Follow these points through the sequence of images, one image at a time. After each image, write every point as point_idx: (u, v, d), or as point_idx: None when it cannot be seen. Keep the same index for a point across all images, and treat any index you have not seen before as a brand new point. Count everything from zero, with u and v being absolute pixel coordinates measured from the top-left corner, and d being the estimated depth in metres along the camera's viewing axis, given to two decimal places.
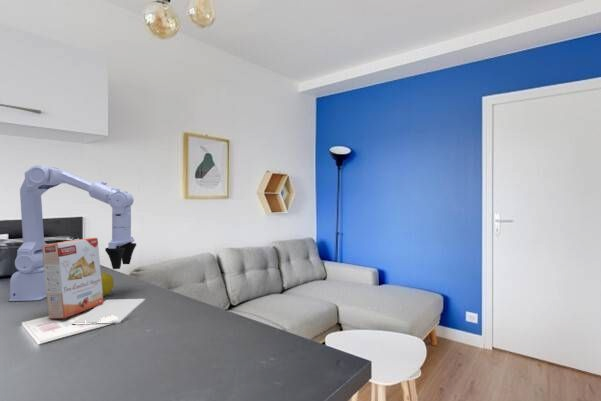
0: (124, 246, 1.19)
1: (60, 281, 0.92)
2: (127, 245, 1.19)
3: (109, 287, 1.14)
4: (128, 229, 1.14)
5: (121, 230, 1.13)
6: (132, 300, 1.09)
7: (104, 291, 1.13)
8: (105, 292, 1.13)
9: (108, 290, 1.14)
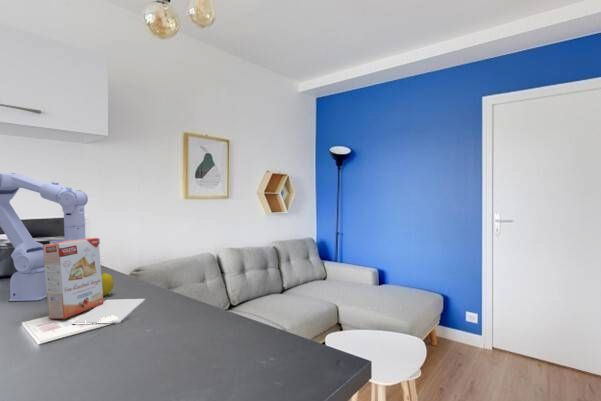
0: None
1: (61, 281, 0.92)
2: None
3: (109, 287, 1.14)
4: (67, 229, 1.09)
5: (64, 230, 1.10)
6: (132, 300, 1.09)
7: (104, 291, 1.13)
8: (105, 292, 1.13)
9: (108, 290, 1.14)
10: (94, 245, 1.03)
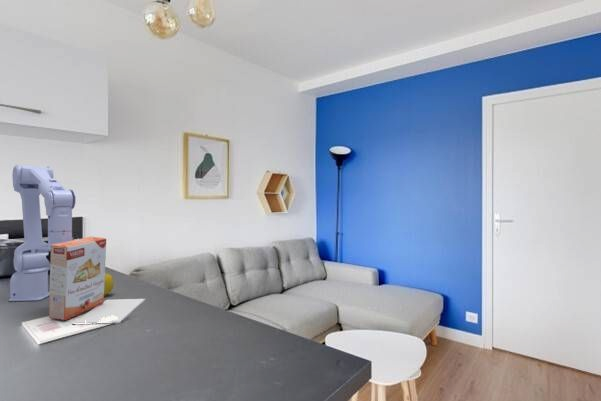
0: None
1: (65, 284, 0.91)
2: None
3: (109, 287, 1.14)
4: (50, 234, 0.95)
5: (48, 234, 0.97)
6: (132, 300, 1.09)
7: (104, 291, 1.13)
8: (105, 292, 1.13)
9: (108, 290, 1.14)
10: (101, 246, 1.02)
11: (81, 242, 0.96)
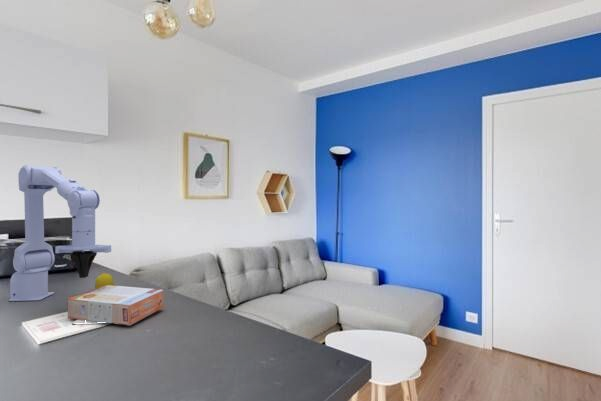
0: None
1: (97, 321, 0.90)
2: None
3: None
4: (75, 234, 0.96)
5: (72, 234, 0.97)
6: None
7: None
8: None
9: None
10: None
11: (145, 313, 0.93)
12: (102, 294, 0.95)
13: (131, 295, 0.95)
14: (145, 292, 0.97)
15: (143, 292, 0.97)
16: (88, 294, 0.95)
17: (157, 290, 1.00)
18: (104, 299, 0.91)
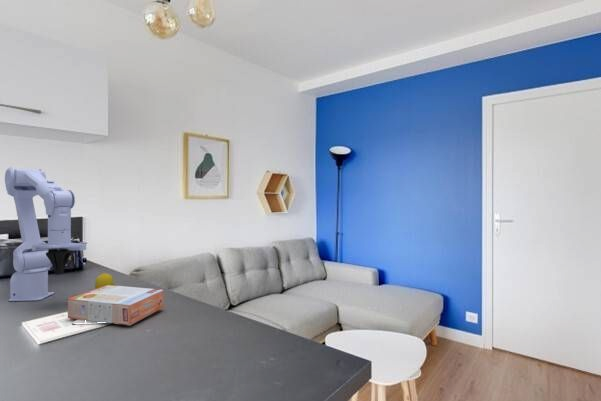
0: None
1: (97, 321, 0.90)
2: None
3: None
4: (50, 233, 1.00)
5: (48, 233, 1.01)
6: None
7: None
8: None
9: None
10: None
11: (145, 313, 0.93)
12: (102, 294, 0.95)
13: (131, 295, 0.95)
14: (145, 292, 0.97)
15: (143, 292, 0.97)
16: (88, 294, 0.95)
17: (157, 290, 1.00)
18: (104, 299, 0.91)
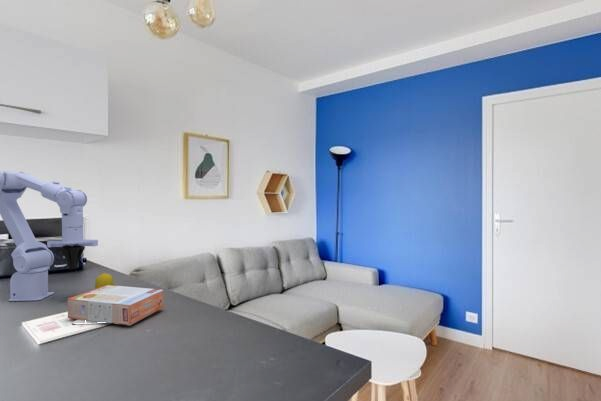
0: None
1: (97, 321, 0.90)
2: None
3: None
4: (64, 230, 1.07)
5: (62, 230, 1.08)
6: None
7: None
8: None
9: None
10: None
11: (145, 313, 0.93)
12: (102, 294, 0.95)
13: (131, 295, 0.95)
14: (145, 292, 0.97)
15: (143, 292, 0.97)
16: (88, 294, 0.95)
17: (157, 290, 1.00)
18: (104, 299, 0.91)
